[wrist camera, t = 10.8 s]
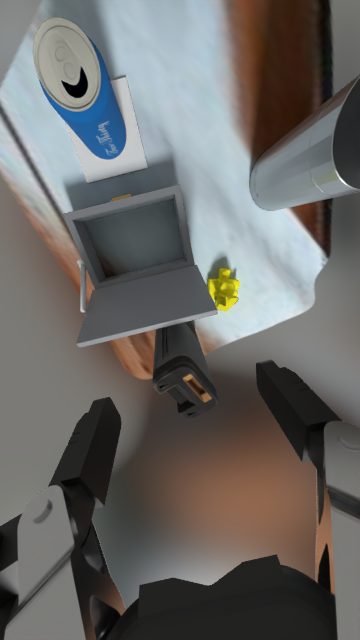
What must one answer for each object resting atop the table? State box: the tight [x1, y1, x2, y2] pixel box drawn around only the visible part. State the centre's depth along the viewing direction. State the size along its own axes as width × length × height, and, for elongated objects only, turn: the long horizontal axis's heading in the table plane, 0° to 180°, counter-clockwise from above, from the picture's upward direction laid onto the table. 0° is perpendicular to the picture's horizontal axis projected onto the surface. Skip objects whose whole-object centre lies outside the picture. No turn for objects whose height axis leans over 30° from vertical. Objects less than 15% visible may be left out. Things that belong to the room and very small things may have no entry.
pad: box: [65, 77, 148, 183], centre depth 28 cm, size 10×10×1 cm
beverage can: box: [33, 17, 127, 160], centre depth 22 cm, size 6×6×12 cm
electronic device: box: [153, 321, 219, 418], centre depth 33 cm, size 9×6×20 cm, turn 34°
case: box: [63, 184, 218, 347], centre depth 28 cm, size 19×17×16 cm
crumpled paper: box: [207, 268, 240, 311], centre depth 36 cm, size 6×8×8 cm
